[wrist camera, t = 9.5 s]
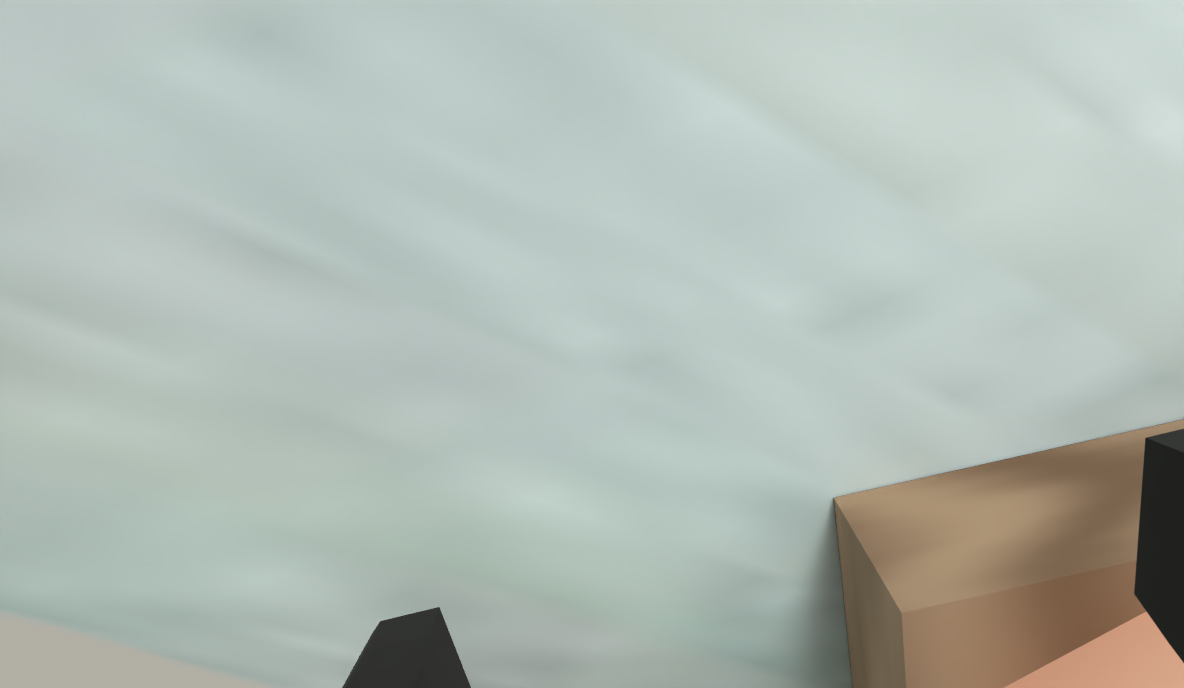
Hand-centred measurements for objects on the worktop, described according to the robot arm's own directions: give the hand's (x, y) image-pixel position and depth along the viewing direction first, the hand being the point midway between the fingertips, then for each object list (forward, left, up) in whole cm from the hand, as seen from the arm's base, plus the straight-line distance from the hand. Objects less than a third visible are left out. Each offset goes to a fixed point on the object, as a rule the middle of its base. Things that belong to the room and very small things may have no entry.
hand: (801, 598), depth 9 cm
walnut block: (-8, +12, -10) cm, 17 cm away
